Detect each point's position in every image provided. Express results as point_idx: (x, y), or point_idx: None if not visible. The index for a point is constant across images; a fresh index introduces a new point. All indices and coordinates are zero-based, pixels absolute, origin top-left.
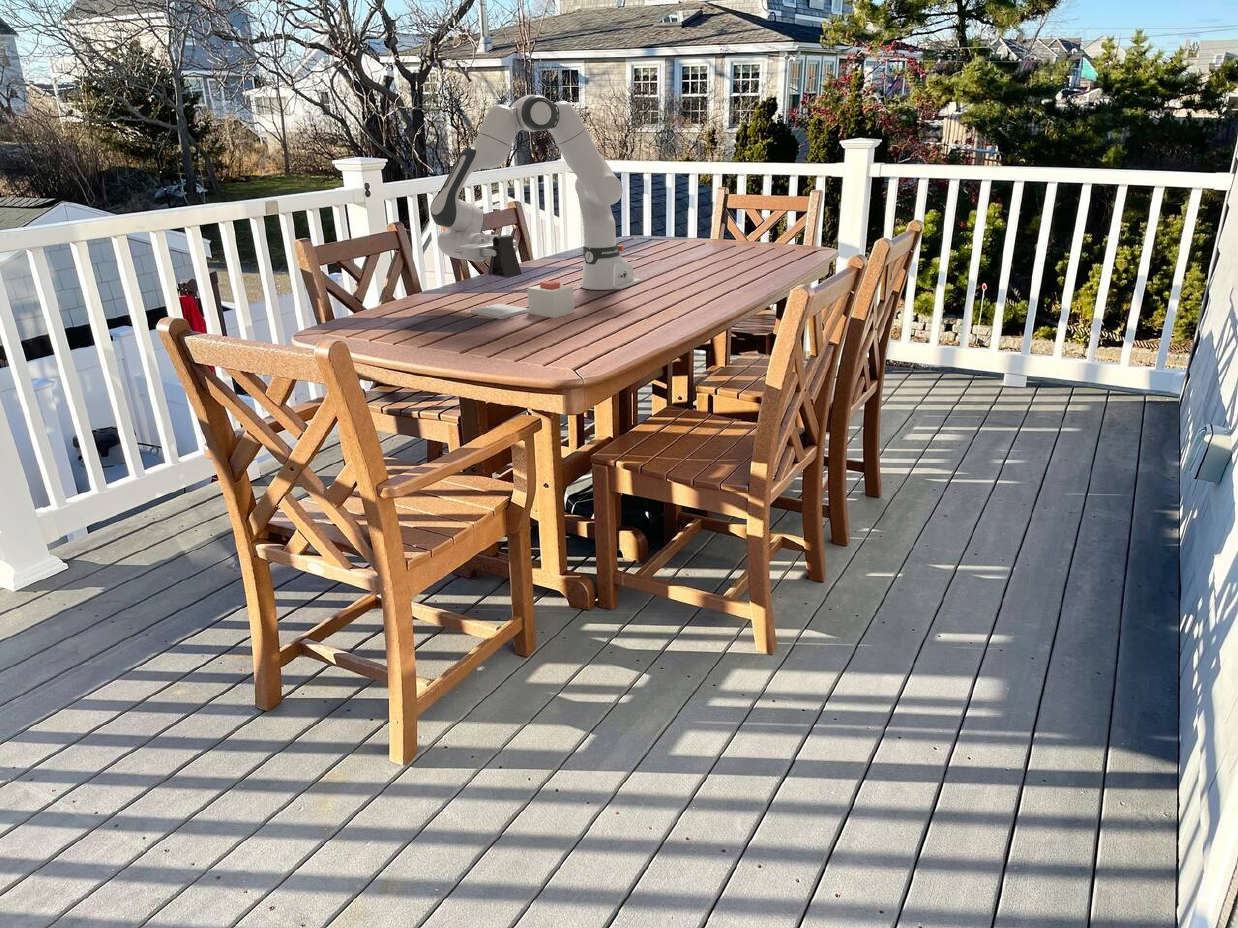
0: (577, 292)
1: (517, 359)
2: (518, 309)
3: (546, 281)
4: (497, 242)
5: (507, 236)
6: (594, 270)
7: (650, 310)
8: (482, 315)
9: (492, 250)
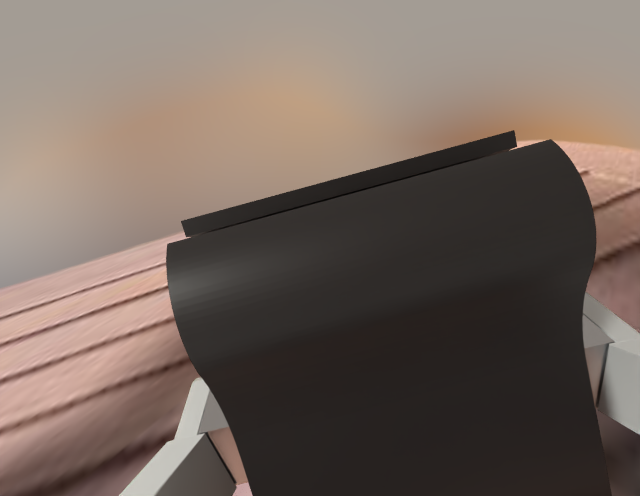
0: None
1: (581, 176)
2: None
3: None
4: (471, 297)
5: (284, 197)
6: None
7: (163, 300)
8: None
9: (606, 308)
